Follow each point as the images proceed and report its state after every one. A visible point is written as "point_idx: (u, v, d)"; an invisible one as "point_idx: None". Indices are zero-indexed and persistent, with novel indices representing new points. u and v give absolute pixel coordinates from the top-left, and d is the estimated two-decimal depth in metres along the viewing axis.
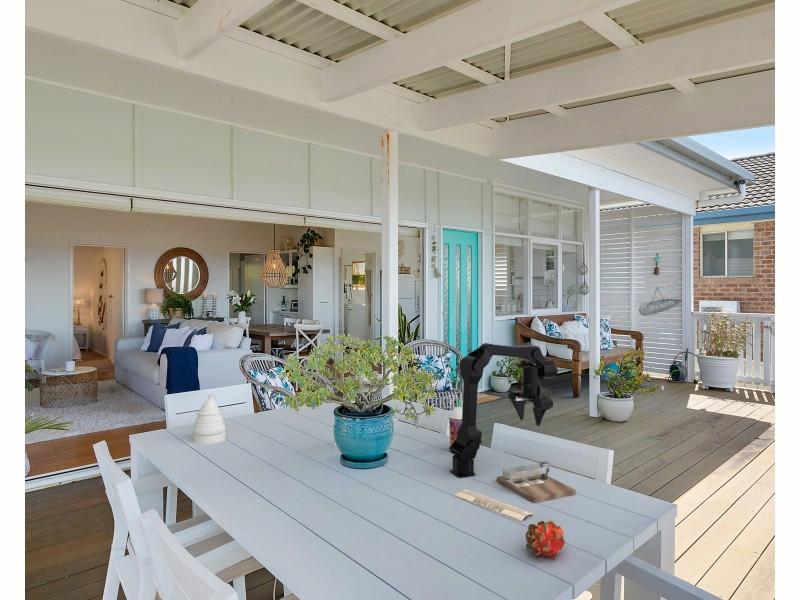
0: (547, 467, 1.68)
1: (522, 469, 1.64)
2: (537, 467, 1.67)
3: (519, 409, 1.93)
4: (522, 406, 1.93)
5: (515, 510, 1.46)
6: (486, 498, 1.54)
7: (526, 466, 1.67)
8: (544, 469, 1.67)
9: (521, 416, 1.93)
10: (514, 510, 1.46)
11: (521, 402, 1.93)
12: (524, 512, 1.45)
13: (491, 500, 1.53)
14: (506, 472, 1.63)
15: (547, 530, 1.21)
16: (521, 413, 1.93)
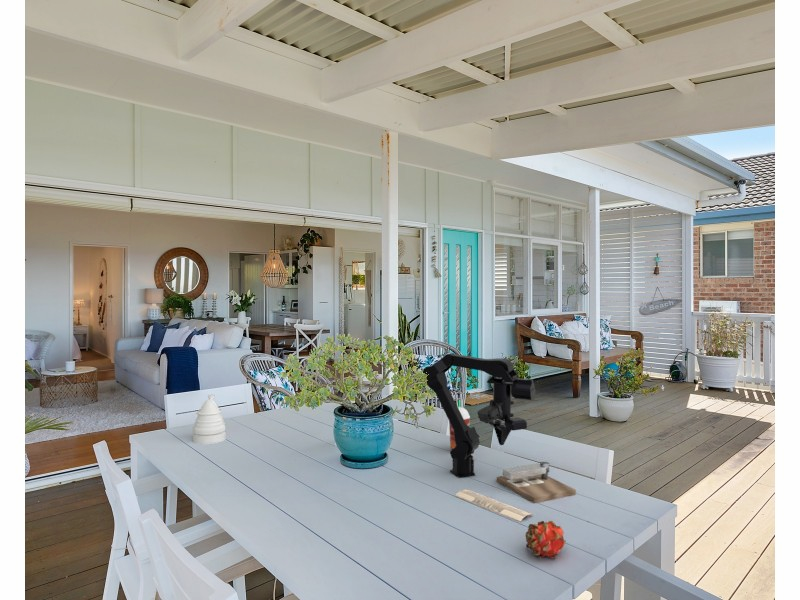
0: (547, 467, 1.68)
1: (522, 469, 1.64)
2: (537, 467, 1.67)
3: None
4: None
5: (514, 510, 1.46)
6: (486, 498, 1.54)
7: (526, 466, 1.67)
8: (544, 469, 1.67)
9: None
10: (513, 510, 1.46)
11: None
12: (523, 512, 1.44)
13: (491, 500, 1.53)
14: (506, 472, 1.63)
15: (547, 530, 1.21)
16: None
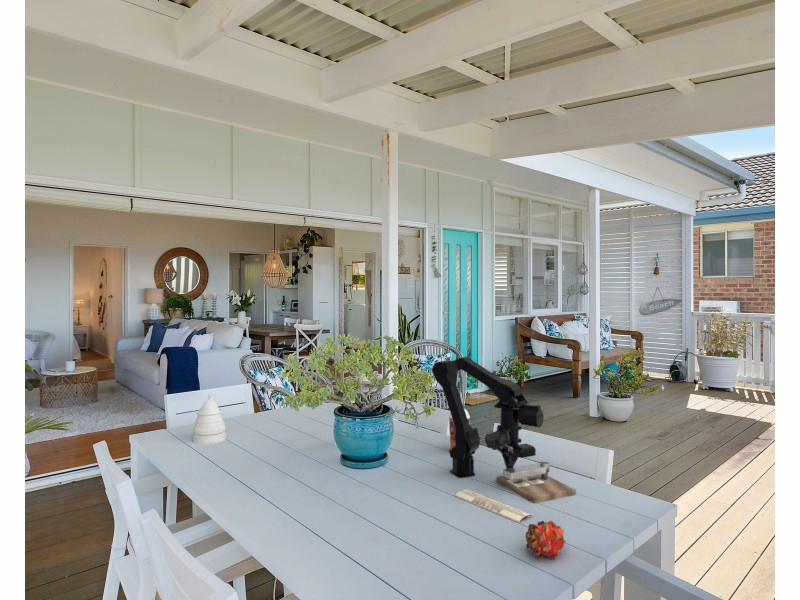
0: (547, 467, 1.68)
1: (522, 469, 1.64)
2: (537, 467, 1.67)
3: None
4: None
5: (513, 511, 1.45)
6: (485, 498, 1.54)
7: (526, 466, 1.67)
8: (544, 469, 1.67)
9: None
10: (512, 510, 1.46)
11: None
12: (522, 513, 1.44)
13: (490, 500, 1.52)
14: (506, 472, 1.63)
15: (547, 530, 1.21)
16: None
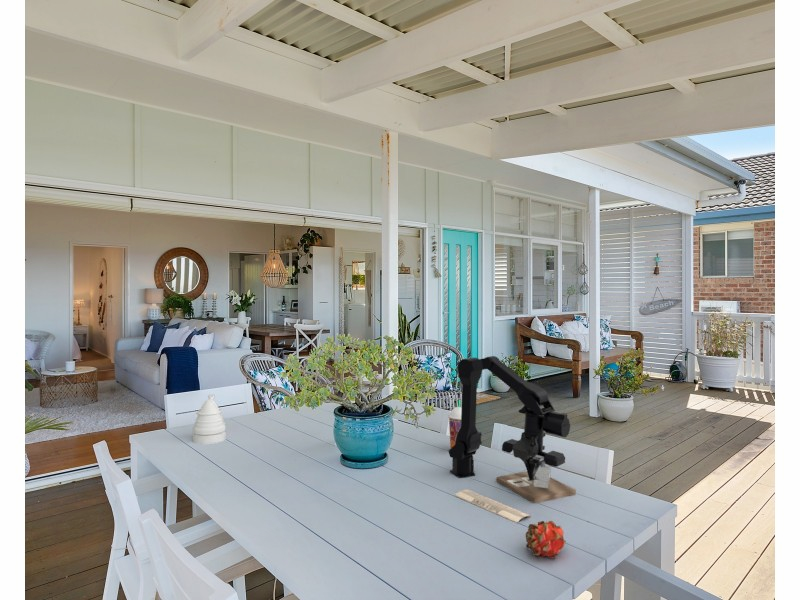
0: None
1: (545, 474, 1.60)
2: (547, 469, 1.65)
3: None
4: None
5: (512, 511, 1.45)
6: (485, 499, 1.54)
7: (539, 470, 1.64)
8: (550, 469, 1.67)
9: None
10: (511, 511, 1.45)
11: None
12: (521, 514, 1.44)
13: (490, 501, 1.52)
14: (540, 482, 1.55)
15: (547, 530, 1.21)
16: None
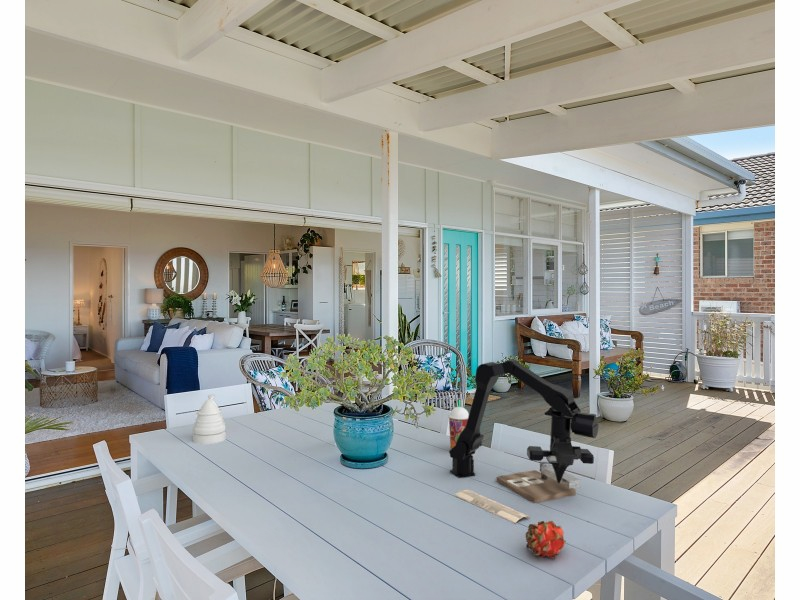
0: None
1: (565, 474, 1.61)
2: None
3: (558, 468, 1.58)
4: (560, 467, 1.57)
5: (511, 512, 1.45)
6: (485, 499, 1.54)
7: None
8: None
9: None
10: (510, 511, 1.45)
11: None
12: (520, 514, 1.43)
13: (489, 501, 1.52)
14: (574, 482, 1.55)
15: (547, 530, 1.21)
16: None
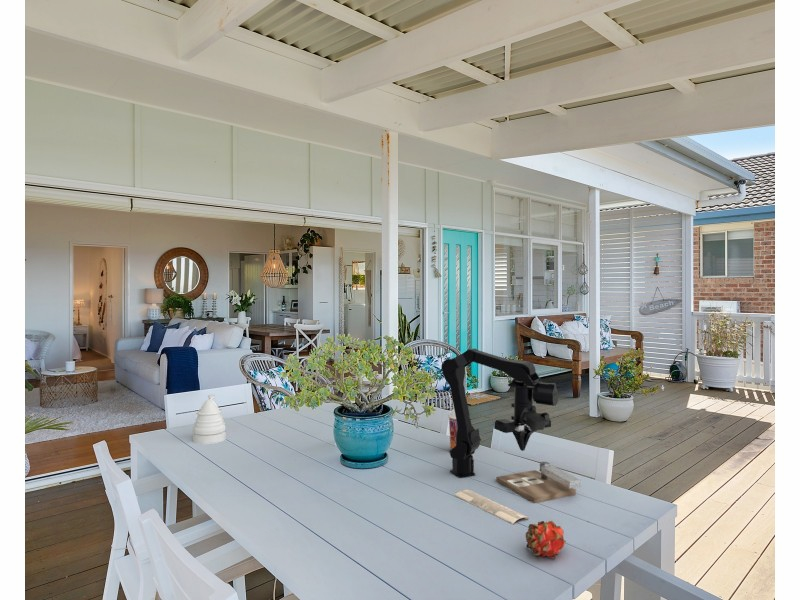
0: None
1: (566, 474, 1.61)
2: (554, 468, 1.66)
3: None
4: (524, 435, 1.65)
5: (509, 512, 1.44)
6: (484, 499, 1.53)
7: (554, 471, 1.63)
8: None
9: None
10: (508, 512, 1.44)
11: (524, 430, 1.66)
12: (518, 515, 1.43)
13: (488, 501, 1.52)
14: (574, 482, 1.55)
15: (547, 530, 1.21)
16: None
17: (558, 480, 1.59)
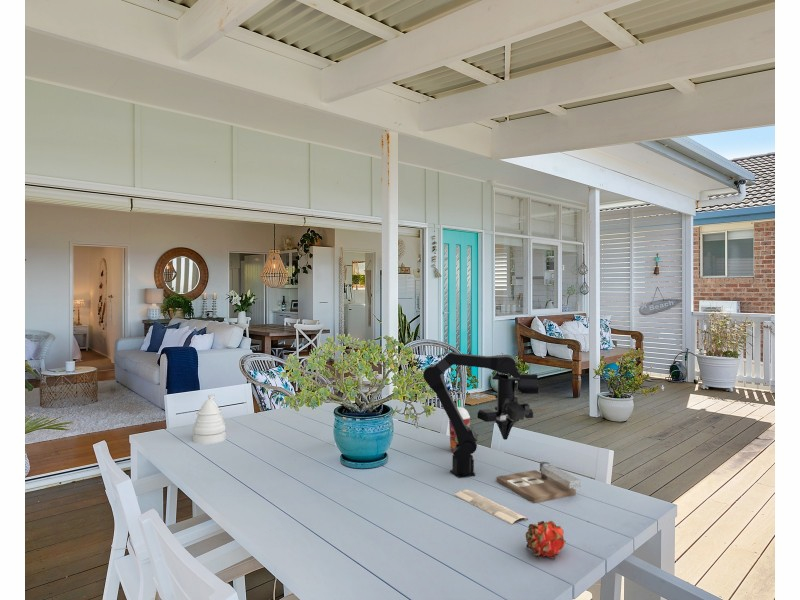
0: None
1: (566, 474, 1.61)
2: (554, 468, 1.66)
3: None
4: (507, 425, 1.74)
5: (508, 513, 1.44)
6: (484, 499, 1.53)
7: (554, 471, 1.63)
8: None
9: None
10: (507, 512, 1.44)
11: (507, 420, 1.74)
12: (517, 515, 1.43)
13: (488, 501, 1.52)
14: (574, 482, 1.55)
15: (547, 530, 1.21)
16: None
17: (558, 480, 1.59)
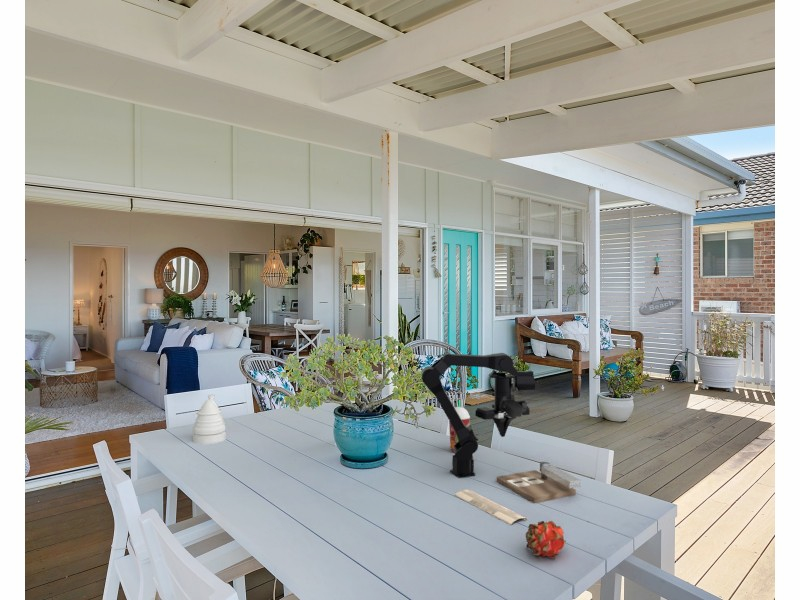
0: None
1: (566, 474, 1.61)
2: (554, 468, 1.66)
3: None
4: (504, 422, 1.76)
5: (508, 513, 1.44)
6: (484, 499, 1.53)
7: (554, 471, 1.63)
8: None
9: None
10: (506, 513, 1.44)
11: (504, 417, 1.77)
12: (516, 516, 1.42)
13: (488, 502, 1.52)
14: (574, 482, 1.55)
15: (547, 530, 1.21)
16: None
17: (558, 480, 1.59)
